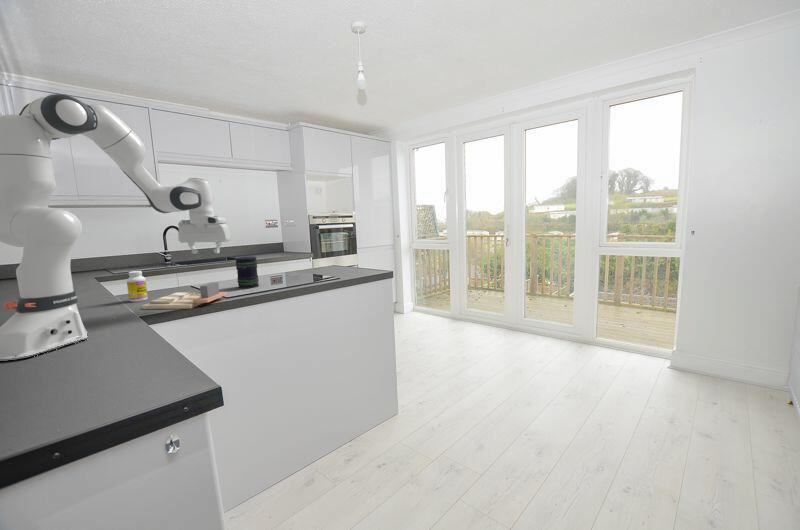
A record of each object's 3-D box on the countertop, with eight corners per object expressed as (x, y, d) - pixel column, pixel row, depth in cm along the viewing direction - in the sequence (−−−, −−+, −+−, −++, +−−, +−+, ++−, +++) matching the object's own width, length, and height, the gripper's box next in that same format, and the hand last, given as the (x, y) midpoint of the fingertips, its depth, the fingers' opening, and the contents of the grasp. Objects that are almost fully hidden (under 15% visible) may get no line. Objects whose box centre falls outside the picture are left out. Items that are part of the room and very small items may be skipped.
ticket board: (190, 308, 138) (189, 301, 137) (142, 309, 139) (141, 302, 139) (219, 296, 157) (218, 290, 157) (177, 297, 159) (176, 291, 158)
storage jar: (239, 285, 181) (236, 257, 179) (259, 284, 184) (257, 256, 182) (236, 289, 172) (233, 259, 170) (258, 287, 175) (255, 258, 173)
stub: (207, 302, 140) (206, 287, 139) (193, 302, 140) (191, 287, 140) (226, 294, 154) (225, 280, 153) (213, 294, 154) (212, 280, 153)
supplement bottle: (138, 302, 151) (134, 273, 149) (125, 302, 152) (121, 272, 150) (151, 298, 157) (148, 270, 155) (139, 298, 159) (135, 270, 157)
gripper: (172, 220, 140) (176, 254, 142) (221, 218, 139) (225, 253, 141) (183, 220, 146) (186, 252, 148) (230, 218, 145) (233, 251, 147)
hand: (205, 253), depth 144 cm, fingers open, 8 cm apart
